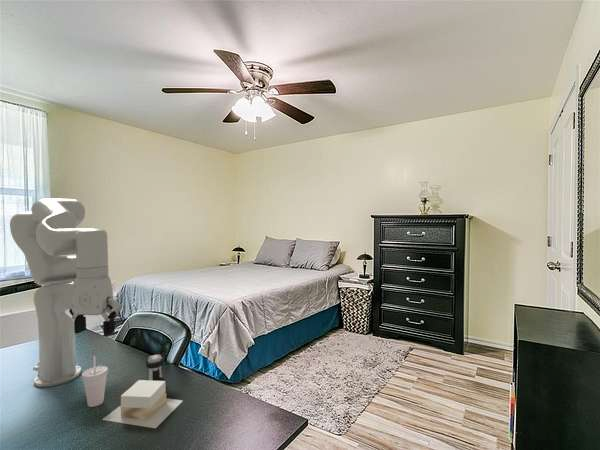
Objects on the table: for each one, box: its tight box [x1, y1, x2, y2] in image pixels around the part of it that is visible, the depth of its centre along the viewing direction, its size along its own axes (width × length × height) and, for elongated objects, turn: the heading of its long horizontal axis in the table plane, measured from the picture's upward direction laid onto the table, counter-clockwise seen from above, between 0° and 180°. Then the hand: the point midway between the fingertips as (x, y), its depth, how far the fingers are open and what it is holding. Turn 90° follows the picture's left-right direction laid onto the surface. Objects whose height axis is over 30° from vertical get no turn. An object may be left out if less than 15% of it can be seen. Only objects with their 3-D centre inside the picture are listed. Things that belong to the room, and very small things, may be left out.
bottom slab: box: [121, 391, 167, 421], centre depth 86 cm, size 8×8×3 cm
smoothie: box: [81, 355, 109, 408], centre depth 90 cm, size 6×6×14 cm
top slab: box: [120, 379, 167, 408], centre depth 86 cm, size 8×8×3 cm
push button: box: [144, 354, 166, 382], centre depth 97 cm, size 7×5×10 cm
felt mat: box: [101, 397, 183, 429], centre depth 86 cm, size 16×12×1 cm
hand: (94, 332), depth 89 cm, fingers open, 9 cm apart
